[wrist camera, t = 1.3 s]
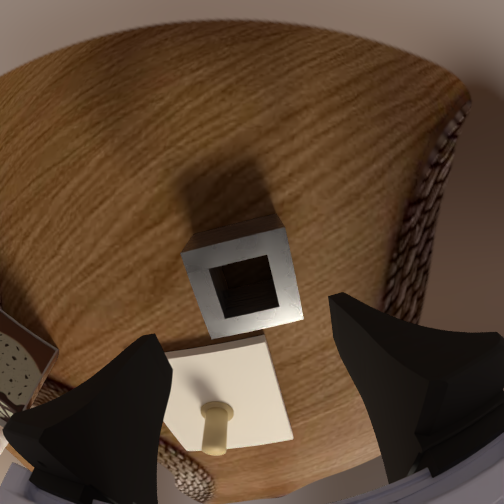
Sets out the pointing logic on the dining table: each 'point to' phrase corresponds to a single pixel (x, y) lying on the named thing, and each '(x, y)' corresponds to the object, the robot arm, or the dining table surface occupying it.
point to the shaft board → (226, 397)
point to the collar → (249, 296)
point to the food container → (21, 366)
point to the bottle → (2, 440)
